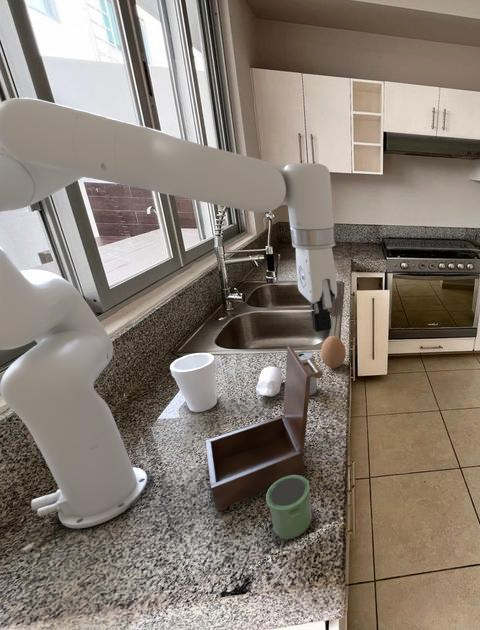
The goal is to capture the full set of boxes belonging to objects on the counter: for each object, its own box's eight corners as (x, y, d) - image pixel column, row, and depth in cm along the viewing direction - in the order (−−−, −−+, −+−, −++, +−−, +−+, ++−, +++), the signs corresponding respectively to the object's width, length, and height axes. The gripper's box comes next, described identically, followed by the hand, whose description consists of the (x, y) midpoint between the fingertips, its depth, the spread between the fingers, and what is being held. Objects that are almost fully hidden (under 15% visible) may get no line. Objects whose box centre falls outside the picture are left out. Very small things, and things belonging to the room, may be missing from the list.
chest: (218, 514, 62) (210, 488, 60) (211, 464, 73) (205, 440, 70) (305, 476, 70) (302, 452, 68) (288, 436, 81) (285, 414, 79)
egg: (350, 362, 113) (348, 333, 109) (340, 374, 107) (338, 343, 102) (329, 359, 115) (326, 330, 111) (317, 371, 108) (314, 340, 104)
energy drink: (310, 385, 101) (306, 349, 96) (321, 392, 98) (317, 355, 93) (294, 393, 97) (289, 355, 92) (304, 400, 94) (300, 362, 89)
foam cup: (185, 420, 85) (172, 376, 80) (179, 403, 91) (167, 360, 87) (227, 405, 91) (218, 363, 86) (219, 390, 97) (209, 349, 92)
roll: (255, 408, 90) (252, 390, 88) (261, 383, 101) (258, 366, 99) (280, 404, 92) (277, 387, 90) (283, 380, 103) (281, 364, 100)
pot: (278, 555, 56) (271, 521, 53) (267, 514, 62) (261, 482, 59) (320, 533, 59) (316, 500, 56) (305, 497, 66) (301, 465, 63)
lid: (306, 376, 63) (330, 373, 66) (287, 346, 74) (309, 344, 76) (300, 451, 68) (322, 445, 70) (282, 413, 78) (303, 409, 81)
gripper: (282, 233, 66) (293, 320, 73) (304, 246, 54) (315, 348, 61) (320, 230, 70) (327, 313, 77) (349, 242, 58) (354, 339, 65)
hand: (322, 329), depth 69 cm, fingers closed
